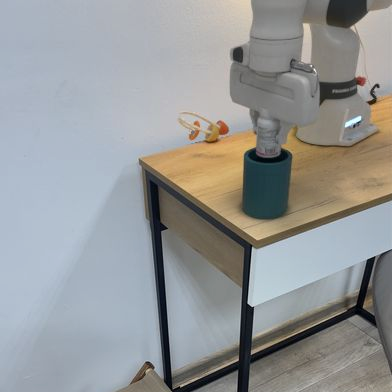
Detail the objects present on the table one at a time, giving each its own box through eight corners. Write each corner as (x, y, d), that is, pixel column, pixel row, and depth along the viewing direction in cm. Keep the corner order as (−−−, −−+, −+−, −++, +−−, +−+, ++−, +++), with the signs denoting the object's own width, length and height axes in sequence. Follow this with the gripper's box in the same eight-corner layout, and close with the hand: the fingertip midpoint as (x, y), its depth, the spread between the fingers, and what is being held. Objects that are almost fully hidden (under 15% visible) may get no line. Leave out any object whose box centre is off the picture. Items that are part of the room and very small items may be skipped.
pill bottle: (264, 147, 96) (267, 100, 90) (285, 152, 94) (289, 105, 88) (250, 154, 94) (252, 107, 88) (271, 160, 91) (275, 112, 86)
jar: (266, 194, 106) (270, 142, 99) (296, 210, 100) (302, 156, 93) (233, 206, 102) (234, 153, 95) (261, 223, 97) (265, 168, 89)
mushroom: (169, 136, 127) (213, 161, 136) (189, 117, 121) (233, 145, 130) (169, 114, 130) (212, 141, 139) (188, 94, 124) (231, 123, 133)
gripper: (334, 63, 77) (321, 151, 87) (251, 42, 90) (248, 121, 99) (305, 70, 75) (295, 160, 84) (223, 47, 88) (223, 128, 97)
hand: (269, 139), depth 92 cm, fingers closed on pill bottle, 5 cm apart
